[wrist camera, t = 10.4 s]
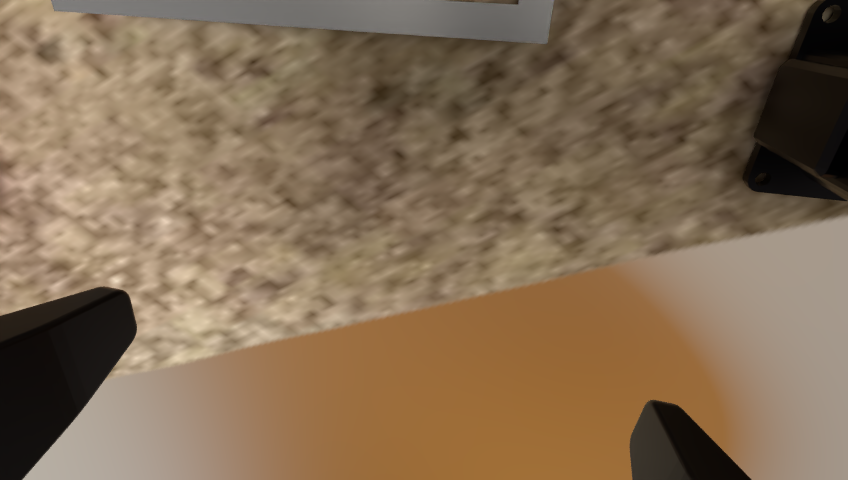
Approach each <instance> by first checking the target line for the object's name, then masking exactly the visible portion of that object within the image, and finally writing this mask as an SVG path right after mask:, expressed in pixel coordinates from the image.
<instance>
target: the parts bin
mask: <svg viewBox="0 0 848 480" xmlns="http://www.w3.org/2000/svg"><path fill="white" fill-rule="evenodd" d="M51 2H52V5H53V8H54V11H64V12H79V13H93V14H108V15H123V16H138V17H153V18H167V19H182V20H197V21H212V22H227V23H241V24H256V25H271V26H286V27H301V28H315V29H330V30H345V31H360V32H375V33H389V34H404V35H419V36H434V37H449V38H464V39H478V40H493V41H508V42H523V43H538V44H547V41H548V35H549V29H550V22H551V16H552V10H553V4H554V0H519V2H518V5H515V4H497V3H479V2H462V1H444V0H51Z"/></svg>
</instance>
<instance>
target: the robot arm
mask: <svg viewBox="0 0 848 480" xmlns="http://www.w3.org/2000/svg"><path fill="white" fill-rule="evenodd" d="M829 6H832V7H833V9H834V12H833V15H832V17H831V18H830V19H829V20H828V21H826V22H824V21H823V19H822V14H823V12H824V11H825V9H826V8H828V7H829ZM754 138H755V139H756V141H757V142H756V144H755V147H754V150H753V152H752V155H751V157H750V160H749V162H748V165H747V167H746V170H745V172H744V176H743V181H744V184H746V185H747V186H748V187H749V188H750V189H752V190H753V191H757V192H764V193H774V194H783V195H793V196H802V197H812V198H821V199H831V200H840V201H848V0H818V1H817V2H815V3H814V4H813V5H812V6H811V8H810V9H809V11H808V13H807V15H806V17H805V20H804V23H803V25H802V28H801V30H800V33H799V35H798V38H797V40H796V43H795V45H794V48H793V50H792V53H791V56H790V58H789V60H788V61H787V62H785V63H784V64H783V65H781V66H780V69H779V71H778V74H777V76H776V79H775V81H774V84H773V87H772V89H771V92H770V94H769V97H768V99H767V102H766V105H765V107H764V110H763V112H762V115H761V118H760V120H759V123H758V125H757V128H756V130H755V133H754ZM761 173H766V176H765V178H764V179H763V180H762V181H760V182H755V178H756V177H757V176H758V175H759V174H761ZM136 332H137V324H136V320H135V316H134V312H133V308H132V304H131V300H130V297H129V295H128V294H127V293H126V292H125V291H123V290H120V289H115V288H110V287H98V288H94V289H91V290H87V291H84V292H81V293H77V294H74V295H70V296H67V297H63V298H60V299H57V300H53V301H50V302H46V303H43V304H40V305H36V306H33V307H29V308H26V309H23V310H19V311H16V312H12V313H9V314H5V315H2V316H0V480H22V479H23V478H24V477H25V476H26V474H28V473H29V471H30V470H31V469H32V468H33V467H34V466H35V464H36V463H37V462H38V461H39V460H40V459H41V458H42V456H43V455H44V454H45V453H46V452H47V451H48V450H49V448H50V447H51V446H52V445H53V444H54V443H55V442H56V440H57V439H58V438H59V437H60V436H61V435H62V434H63V432H64V431H65V430H66V429H67V428H68V426H69V425H70V424H71V423H72V422H73V420H74V419H75V418H76V417H77V416H78V415H79V413H80V412H81V411H82V409H83V408H84V407H85V406H86V404H87V403H88V402H89V400H90V399H91V398H92V396H93V395H94V393H95V392H96V391H97V389H98V388H99V386H100V385H101V384H102V383H103V381H104V380H105V378H106V377H107V376H108V374H109V373H110V372H111V370H112V369H113V367H114V366H115V365H116V363H117V362H118V361H119V359H120V358H121V356H122V355H123V354H124V352H125V351H126V350H127V348H128V347H129V346H130V344H131V343H132V341H133V340H134V338H135V336H136ZM630 457H631V467H632V478H633V480H751V479H750V478H749V477H748V476H747V475H746V474H745V473H744V471H743V470H742V469H741V468H739V466H738V465H737V464H736V463H735V462H734V461H733V460H732V459H731V458H730V457H729V456H728V455H727V454H726V453H725V452H724V451H723V450H722V449H721V448H720V447H719V446H718V445H717V444H716V443H715V442H714V441H713V440H712V439H711V438H710V437H709V436H708V435H707V434H706V433H705V432H704V431H703V430H702V429H701V428H700V427H699V426H698V425H697V424H696V423H695V422H694V421H693V420H692V419H691V417H690V416H689V415H687V413H685V411H684V410H683V409H682V408H680V407H679V406H678V405H675V404H672V403H667V402H662V401H657V400H650V401H648V402H647V403H646V405H645V407H644V408H643V411H642V413H641V415H640V417H639V420H638V422H637V424H636V426H635V428H634V430H633V432H632V435H631V439H630Z"/></svg>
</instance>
